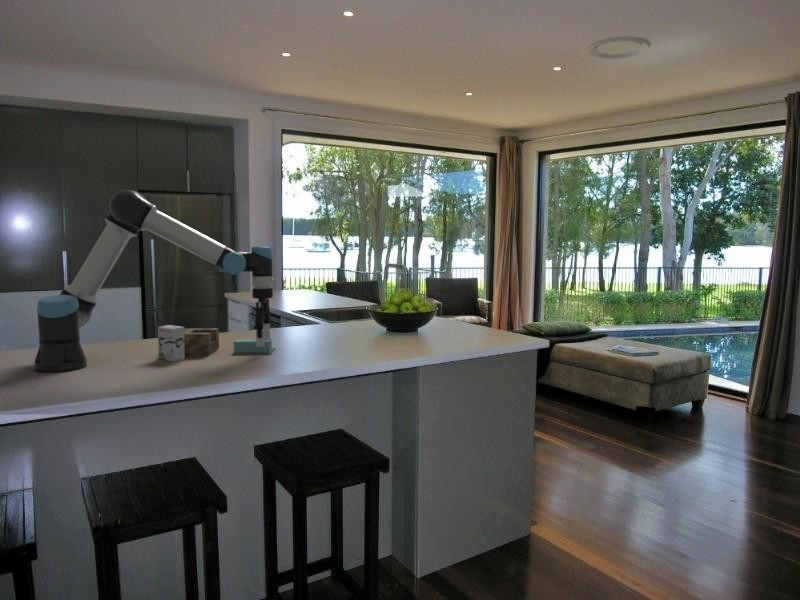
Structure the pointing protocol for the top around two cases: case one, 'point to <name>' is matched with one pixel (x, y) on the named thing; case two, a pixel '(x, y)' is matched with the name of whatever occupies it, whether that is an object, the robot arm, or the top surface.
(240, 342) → the slab
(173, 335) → the ink box
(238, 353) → the mat
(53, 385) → the top surface
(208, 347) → the block
